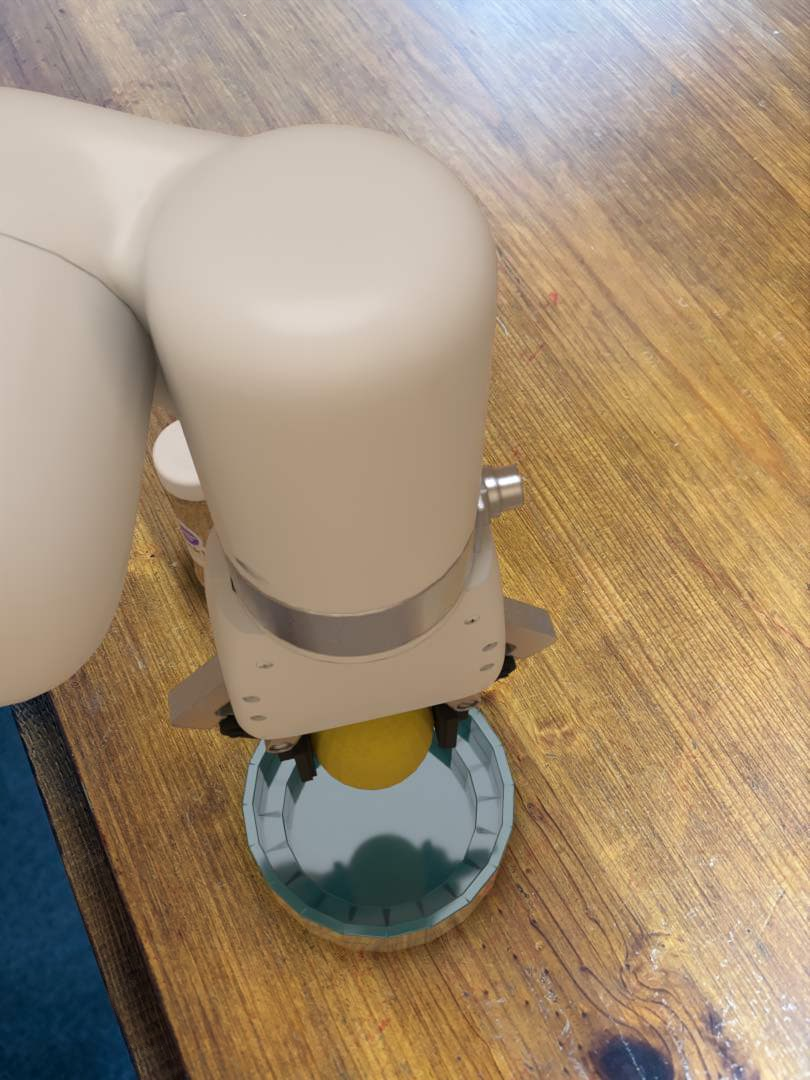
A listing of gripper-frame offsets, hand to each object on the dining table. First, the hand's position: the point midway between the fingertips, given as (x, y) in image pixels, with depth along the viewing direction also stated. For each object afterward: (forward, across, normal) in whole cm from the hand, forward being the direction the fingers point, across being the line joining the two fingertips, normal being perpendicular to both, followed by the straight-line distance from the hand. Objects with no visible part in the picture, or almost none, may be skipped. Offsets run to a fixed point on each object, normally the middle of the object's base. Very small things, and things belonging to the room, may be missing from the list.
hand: (371, 731), depth 47 cm
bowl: (+15, 0, 0) cm, 15 cm away
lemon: (+3, 0, 0) cm, 3 cm away
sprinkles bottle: (+15, +6, -18) cm, 24 cm away
